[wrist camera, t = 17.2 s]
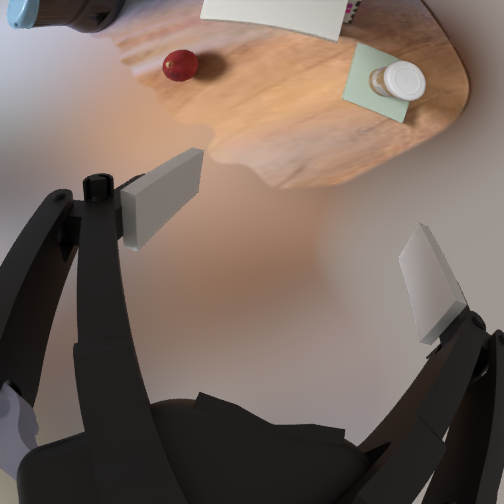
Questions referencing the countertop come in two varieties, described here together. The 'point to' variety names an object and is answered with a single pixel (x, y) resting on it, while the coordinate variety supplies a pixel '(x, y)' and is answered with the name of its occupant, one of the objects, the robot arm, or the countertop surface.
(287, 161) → the countertop surface
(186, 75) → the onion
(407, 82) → the sprinkles bottle
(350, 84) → the pedestal
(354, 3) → the candy bar box
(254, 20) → the white t-shaped stand
